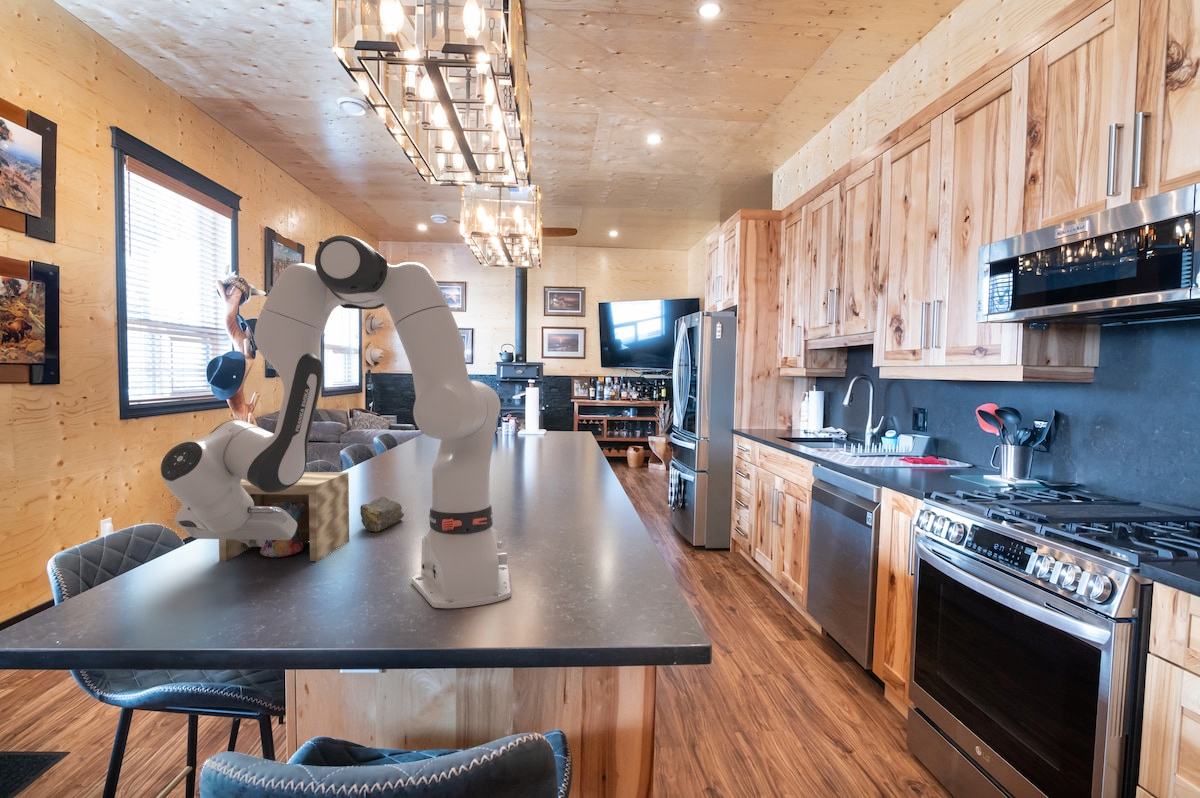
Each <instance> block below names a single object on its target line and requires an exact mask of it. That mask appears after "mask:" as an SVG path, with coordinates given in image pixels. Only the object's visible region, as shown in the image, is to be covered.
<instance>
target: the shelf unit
mask: <svg viewBox="0 0 1200 798" xmlns="http://www.w3.org/2000/svg"><path fill="white" fill-rule="evenodd" d="M349 481H350V480H349V472H346V471H345V472H342V471H341V472H340V471H339V472H338V471H337V472H334V471H332V472H331V471H326V472H325V471H321V472H320V471H305V472H304V474H303V476H302V477H301V479H300V480H299V481H298V482H297V483H295V484H294V485H293V486H291V487H289V488H287V489H285V490H282V491H279V492H276V493H266V492H264V491H262V490H261V489H259V488H257V487H256V486H254V485H252V484H251V483H250V482H248V481H246V480H244V479H242V480H241V482H240V484H241V486H242V487H243V488H244V489H245V490H246V492H247V493H248V494H249V495H250V496H251V498H252V499H253V502H254V506H263V505H267V504H272V503H279V502H301V503H303V504H304V505H305V506H304V508H303V511H302V513H301V516H300V520H299V537H300V541H301V543H309V562H310V561H318V560H319V561H321V560H322V559H324V558H326V557H327V556H328V555H327V554H329V553H330V552H332V551H333V550H335V549H336V548H338V547H339V548H341V547H342V546H343V544H344V543H345V544H347V543H349V541H350V499H349V498H350V497H349V496H350V491H349V489H350V488H349V484H350V483H349ZM308 541H310V542H308ZM346 542H347V543H346ZM345 544H344V545H345ZM341 545H342V546H341ZM340 546H341V547H340ZM250 548H251V549H253V548H252V547H248V545H247V544H246V543H243V542H240V541H238V540H236V539H218V557H219V561H220V562H227V561H229V560H231V559H232V557H233V558H235V557H237V556H239V555H241V554H243V553H245V552H247V551H249V550H251V549H250ZM339 548H338V549H339ZM248 549H249V550H248ZM246 550H247V551H246ZM336 550H337V549H336ZM336 550H335V551H336ZM244 551H245V552H244ZM242 552H243V553H242ZM333 552H334V551H333ZM333 552H332V553H333ZM240 553H241V554H240ZM238 554H239V555H238ZM330 554H331V553H330ZM330 554H329V555H330ZM236 555H237V556H236ZM326 555H327V556H326ZM234 556H235V557H234ZM323 557H324V558H323ZM321 558H322V559H321ZM320 559H321V560H320ZM226 560H227V561H226ZM319 561H318V562H319Z"/></svg>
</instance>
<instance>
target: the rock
mask: <svg viewBox="0 0 1200 798" xmlns="http://www.w3.org/2000/svg"><path fill="white" fill-rule="evenodd" d="M359 509H360V512H359V513H360V516H361V520H360V521H361V523H362V525H363V527H364V528H365V529H366V530H367V531H368V532H370V531H374V533H377V532H382V531H383V529H384V530H385V528H386V529H387V527H388V526H389V525H391V526H393V525H395V524H397V523H398V522H399V521H400V520H401V519H402V518H403V517H404V516H405V513H404V512H403V511H402V509H403V507H402V505H401V504H400V503H399V502H397V501H393V500H390V499H388V498H387V497H386V496H383V495H382V496H381V497H379V498H376V499H374V500H371V502H370V503H364V504H361V505H360V508H359ZM394 523H395V524H394ZM392 524H393V525H392ZM389 527H390V526H389ZM389 527H388V528H389ZM381 530H382V531H381Z"/></svg>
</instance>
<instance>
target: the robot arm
mask: <svg viewBox="0 0 1200 798" xmlns="http://www.w3.org/2000/svg"><path fill="white" fill-rule="evenodd" d="M339 306H341V307H342V308H343V309H352V310H353V309H356V310H366V311H367V310H377V309H381V308H383V307H386V310H387V311H388V313H389V315H390V317H391V320H392V322H393V325H394V327H395V330H396V332H397V334H398V337H399V340H400V342H401V344H402V347H403V350H404V351H405V354H406V357H407V360H408V362H409V366H410V370H411V374H412V379H413V387H414V394H415V400H414V404H413V409H412V410H413V411H412V415H413V420H414V422H415V425H416V427H417V428H418V429H419V431H421V432H422V434H424V435H425V436H427V437H430V438H432V439H437V440H440V443H439V444H440V445H439V447H438V452H437V456H436V459H435V461H434V463H433V465H432V469H431V507H430V509H429V515H428V518H429V527H430V529H429V531H428V532H427V533H426V534H425V536H423V537H422V539H421V561H420V563H421V564H420V569H421V570H420V573H418V574H415V575H413V576H412V577H411V584H412V586H413V587H414V588H415V589H416V590H417V591H418V592H419V593H420V595H421V596H423V598H424V599H425V600H426V601H427V602H428V603H429V604H430V605H431V607H432V608H437V609H461V608H468V607H469V608H471V607H476V606H482V605H487V604H493V603H497V602H501V601H504V600H506V599H509V598H510V597H512V591H511V590H512V589H511V580H510V573H509V571H510V570H509V567H508V565H507V564H508V553H507V552H499V551H498V549H499V550H501V549H503V541H501V540H499V541H498V530H496V529H495V528H494V527H493V524H494V523H493V517H494V515H493V509H492V505H491V504H490V503H491V502H490V493H491V492H490V487H491V486H490V484H491V483H490V479H491V478H490V476H491V475H490V474H491V473H490V470H491V460H492V453H493V448H494V442H495V437H496V435H495V434H496V428H497V421H498V418H499V416H500V413H501V399H500V397H499V395H498V393H497V392H496V390H494V389H493V388H492V387H491V386H489V385H488V384H485V383H484V382H482V381H478V380H471V379H470V377H469V373H468V369H467V364H466V358H465V357H466V356H465V349H466V347H465V345H466V344H465V341H464V339H463V336H462V334H461V331H460V329H459V327H458V325H457V323H456V322H457V321H456V319H455V317H454V315H453V312H452V310H451V308H450V306H449V304H448V301H447V299H446V297H445V295H444V292H443V291H442V289H441V287H440V286H439V284H438V282H437V280H436V279H435V277H434V275H433V274H432V273H431V272H430V270H429V269H428V267H426V266H425V265H424V264H422V263H420V262H413V261H409V262H401V263H399V264H396V265H391V264H389V263H388V262H387V259H386V257H384V256H383V255H382V254H380V252H378V251H377V250H375V249H374V248H373V247H372V246H370V245H369V244H368V243H367V242H365V241H363V240H361V239H359V238H357V237H355V236H350V235H345V234H344V235H342V234H340V235H335V236H330V237H329V238H327V239H326V240H324V241H323V242H322V243H321V244H320V245H319V246H318V248H317V250H316V252H315V256H314V265H313V264H309V263H301V262H300V263H299V262H298V263H292V264H290V265H288V266H286V267H285V268H284V269H283V271H282V272H281V273H280V275H279V276H278V278H277V279H276V280H275V282H274V283H273V285H272V287H271V290H270V291H269V292H268V295H267V297H266V298H265V302H264V303H263V306H262V308H261V310H260V312H259V315H258V318H257V320H256V322H255V327H254V335H253V339H254V343H255V346H256V348H257V351H259V353H260V355H261V356H262V357H263V358H264V359H265V361H266V362H267V363H268V364H270V365H271V367H272V368H273V369H274V370H275V372H276V373H277V375H278V376H279V377H280V380H281V382H282V385H283V396H282V400H281V407H280V410H279V413H278V418H277V423H276V426H275V431H274V433H273V432H271V431H268V430H266V429H264V428H262V427H260V426H258V425H255V424H253V423H250V422H247V421H245V420H242V419H230V420H227V421H226V422H223V423H221V424H219V425H218V426H216V427H215V428H214V429H213V430H212V431H210V432H209V434H207V435H206V436H203V437H202V438H199V439H196V440H187V441H183V442H181V443H179V444H177V445H175V446H173V447H172V448H171V449H170V450H169V451H167V453H165V455H164V457H162V460H161V463H160V476H161V478H162V481H163V483H164V484H165V486H166V488H167V489H168V490H169V492H170V493H171V494H172V495H173V496H174V497H175V499H176V500H178V501H179V503H181V506H180V507H179V509H178V510H177V511H178V512H177V513H176V516H175V517H174V519H173V523H174V524H175V525H177V526H178V527H180V528H181V529H182V530H183V531H184V532H185V533H186V534H188V535H189V536H190V537H192V538H194V539H199V540H219V539H236V540H238V541H240V542H243V543H246V544H247V545H248V547H253V548H255V547H258V548H262V547H263V546H264V544H265V542H266V540H290V539H291V538H292V537H293V536H294V534H295V531H296V529H297V522H296V521H295V520H294V519H293V518H292V517H291V516H290V515H289V514H288V513H287V512H286V511H284V510H283V509H281V508H278V507H265V506H254V502H253V499H252V498H251V496H250V495H249V494H248V493H247V492H246V490H245V489H244V488H243V487H242V486H241V484H240V482H241V480H242V479H244V480H246V481H248V482H250V483H251V484H252V485H254V486H256V487H257V488H259V489H261V490H262V491H264V492H266V493H276V492H279V491H282V490H285V489H287V488H289V487H291V486H293V485H294V484H295V483H297V482H298V481H299V480H300V479H301V477H302V476H303V474H304V472H306V469H307V463H308V449H309V448H308V447H309V446H308V445H309V440H310V435H311V430H312V428H313V422H314V418H315V415H316V410H317V407H318V401H319V396H320V391H321V388H322V381H323V375H324V367H323V364H322V361H321V360H320V346H321V345H320V344H321V340H322V336H323V333H324V330H325V328H326V325H327V322H328V320H329V318H330V316H331V313H332V312H333V311H334V310H335V309H336V308H337V307H339Z"/></svg>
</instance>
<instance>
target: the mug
mask: <svg viewBox="0 0 1200 798" xmlns="http://www.w3.org/2000/svg"><path fill="white" fill-rule="evenodd" d="M263 506H265V507H278V508H281V509H283V510H284V511H286V512H287V513H288V514H289V515H290V516H291V517H292V518H293V519H294V520H295V521H296V522H297V529H296V531H295V534H294V536H293V537H292V538H291V539H290V540H266V542H265V544H264V546H263V547H260V548H261V549H260V550H259V553H260V555H261V556H264V557H267V558H282V557H287V556H288V555H289V556H292V555H294V554H297V553H300V552H301V551H302V550H303V549H304V544H303V542H301V541H300V537H299V520H300V516H301V513H302V511H303V508H304V506H305V505H304V504H303V503H301V502H279V503H272V504H267V505H263Z"/></svg>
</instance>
